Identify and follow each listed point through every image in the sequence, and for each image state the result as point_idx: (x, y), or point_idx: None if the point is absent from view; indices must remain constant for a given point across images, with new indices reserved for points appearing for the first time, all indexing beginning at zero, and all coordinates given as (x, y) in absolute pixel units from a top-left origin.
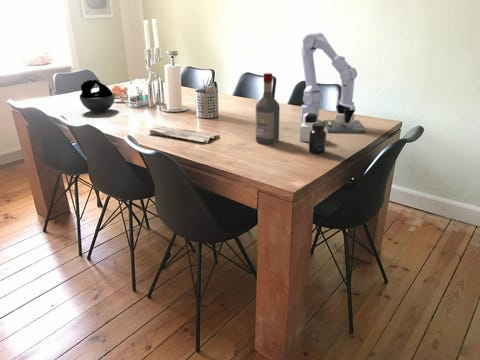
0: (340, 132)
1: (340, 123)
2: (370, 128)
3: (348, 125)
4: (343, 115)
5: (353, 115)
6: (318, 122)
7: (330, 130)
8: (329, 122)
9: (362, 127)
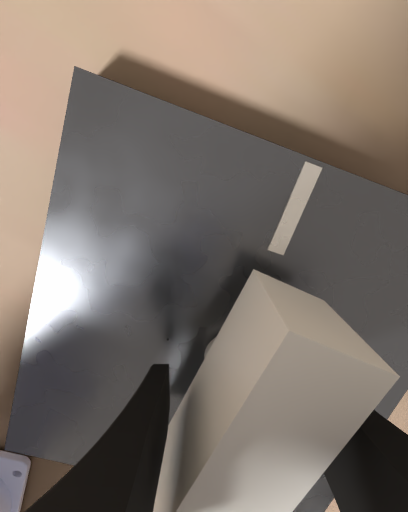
0: None
1: (164, 361)
2: (357, 64)
3: None
4: (283, 505)
5: (382, 389)
6: (27, 472)
7: (326, 500)
8: None
9: (405, 218)
